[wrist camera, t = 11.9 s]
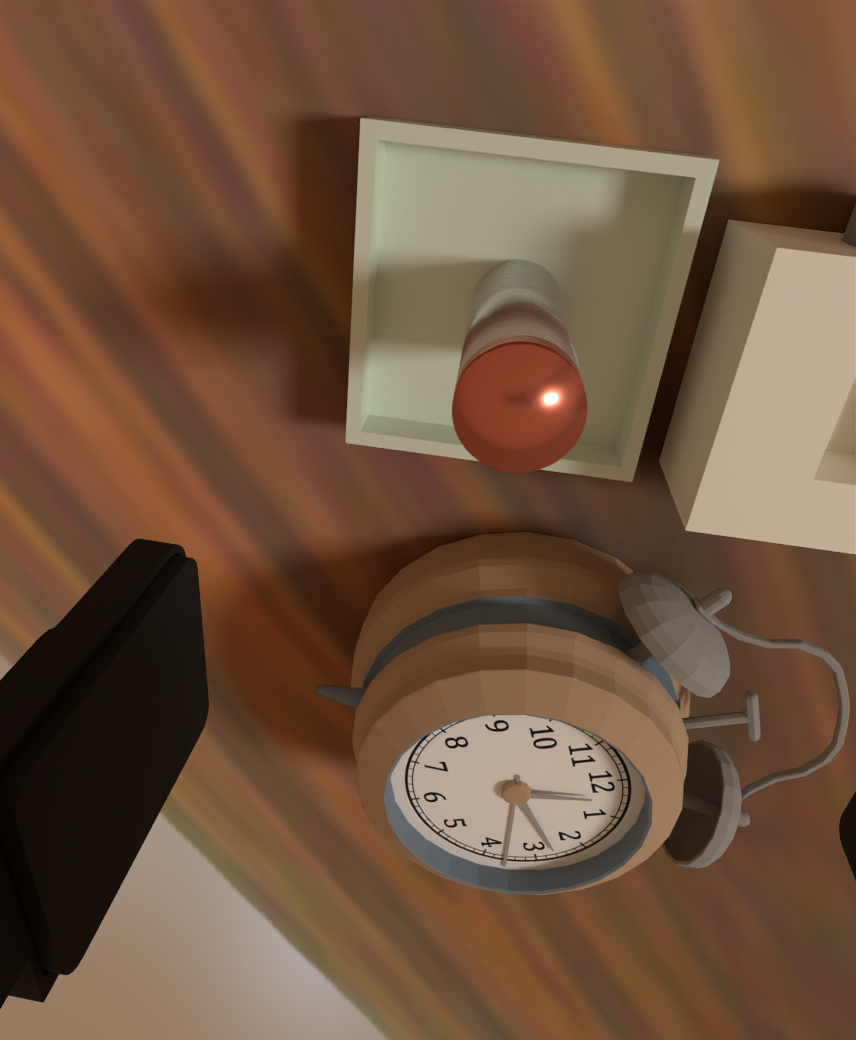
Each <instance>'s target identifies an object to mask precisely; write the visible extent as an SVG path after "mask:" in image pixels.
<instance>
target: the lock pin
mask: <svg viewBox="0 0 856 1040" xmlns="http://www.w3.org/2000/svg"><path fill="white" fill-rule="evenodd" d="M586 419H587V398H586V393H585V389H584V385H583V380H582V376H581V372H580V368H579V364H578V360H577V356H576V351H575V347H574V343H573V339H572V335H571V331H570V326H569V322H568V318H567V314H566V310H565V306H564V302H563V297H562V293H561V290H560V287H559V285H558V283H557V281H556V280H555V278H554V277H553V276H552V274H551V273H550V272H549V271H547V270H546V269H545V268H543V267H542V266H540V265H538V264H536V263H533V262H530V261H525V260H511V261H507V262H504V263H501V264H499V265H497V266H495V267H493V268H492V269H490V270H489V271H488V272H487V273H486V274H485V275H484V276H483V277H482V278H481V279H480V281H479V283H478V284H477V286H476V288H475V290H474V293H473V297H472V302H471V307H470V313H469V318H468V323H467V328H466V334H465V339H464V344H463V349H462V355H461V360H460V365H459V370H458V376H457V381H456V386H455V391H454V397H453V402H452V421H453V425H454V429H455V431H456V434H457V436H458V438H459V440H460V442H461V444H462V445H463V446H464V448H465V449H466V450H467V451H468V452H469V453H470V454H471V455H472V456H473V457H474V458H476V459H477V460H478V461H480V462H481V463H483V464H485V465H487V466H489V467H491V468H494V469H497V470H500V471H505V472H512V473H524V472H531V471H536V470H540V469H543V468H545V467H548V466H550V465H552V464H554V463H555V462H557V461H559V460H560V459H561V458H563V457H564V456H565V455H566V454H567V453H568V452H569V451H570V450H571V449H572V448H573V447H574V445H575V444H576V443H577V441H578V440H579V438H580V436H581V434H582V432H583V430H584V427H585V423H586Z"/></svg>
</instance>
